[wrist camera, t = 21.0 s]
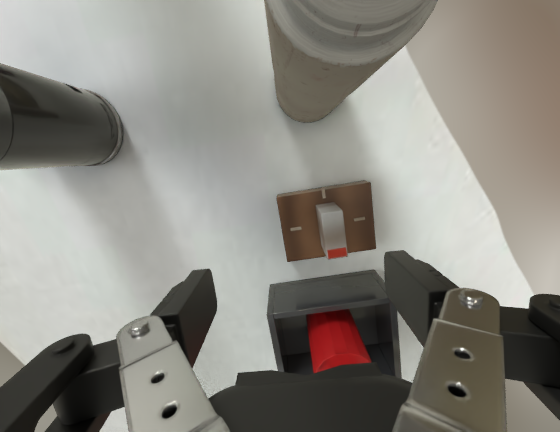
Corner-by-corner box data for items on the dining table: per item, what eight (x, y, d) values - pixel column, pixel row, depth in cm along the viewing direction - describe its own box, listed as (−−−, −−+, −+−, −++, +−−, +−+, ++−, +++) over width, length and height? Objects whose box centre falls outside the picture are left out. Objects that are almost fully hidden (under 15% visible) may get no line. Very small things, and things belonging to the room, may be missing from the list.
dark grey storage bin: (283, 355, 42) (283, 397, 35) (269, 284, 39) (266, 314, 32) (381, 342, 41) (402, 383, 34) (374, 269, 38) (396, 296, 31)
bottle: (309, 339, 40) (327, 470, 23) (303, 300, 38) (318, 412, 22) (352, 333, 40) (402, 462, 23) (348, 294, 38) (397, 402, 22)
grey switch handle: (315, 205, 33) (321, 214, 28) (334, 201, 33) (343, 210, 28) (321, 244, 35) (327, 260, 30) (339, 242, 35) (348, 257, 30)
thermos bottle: (343, 56, 32) (706, -537, 4) (335, 125, 34) (557, 1, 6) (278, 51, 32) (244, -578, 4) (273, 120, 34) (230, -25, 6)
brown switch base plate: (287, 257, 38) (287, 264, 35) (276, 191, 36) (275, 195, 33) (370, 245, 37) (376, 251, 35) (364, 177, 35) (370, 179, 33)
